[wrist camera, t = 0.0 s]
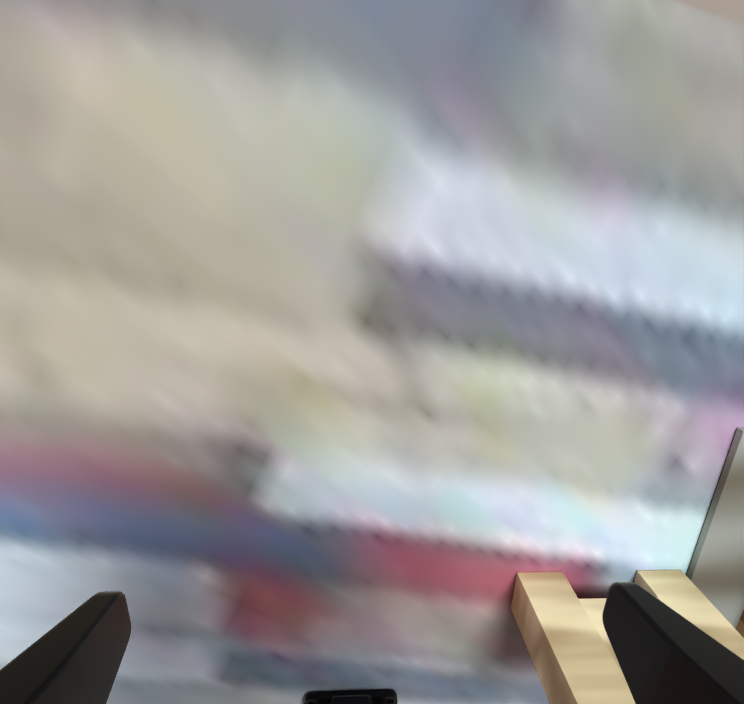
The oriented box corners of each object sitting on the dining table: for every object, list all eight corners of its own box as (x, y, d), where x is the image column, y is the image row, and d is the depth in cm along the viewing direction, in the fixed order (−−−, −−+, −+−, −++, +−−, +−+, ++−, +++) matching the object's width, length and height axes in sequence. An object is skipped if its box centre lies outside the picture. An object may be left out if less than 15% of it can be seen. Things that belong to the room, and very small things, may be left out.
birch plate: (669, 604, 29) (784, 746, 21) (510, 607, 28) (570, 755, 20) (680, 569, 28) (805, 705, 20) (517, 572, 27) (582, 713, 19)
